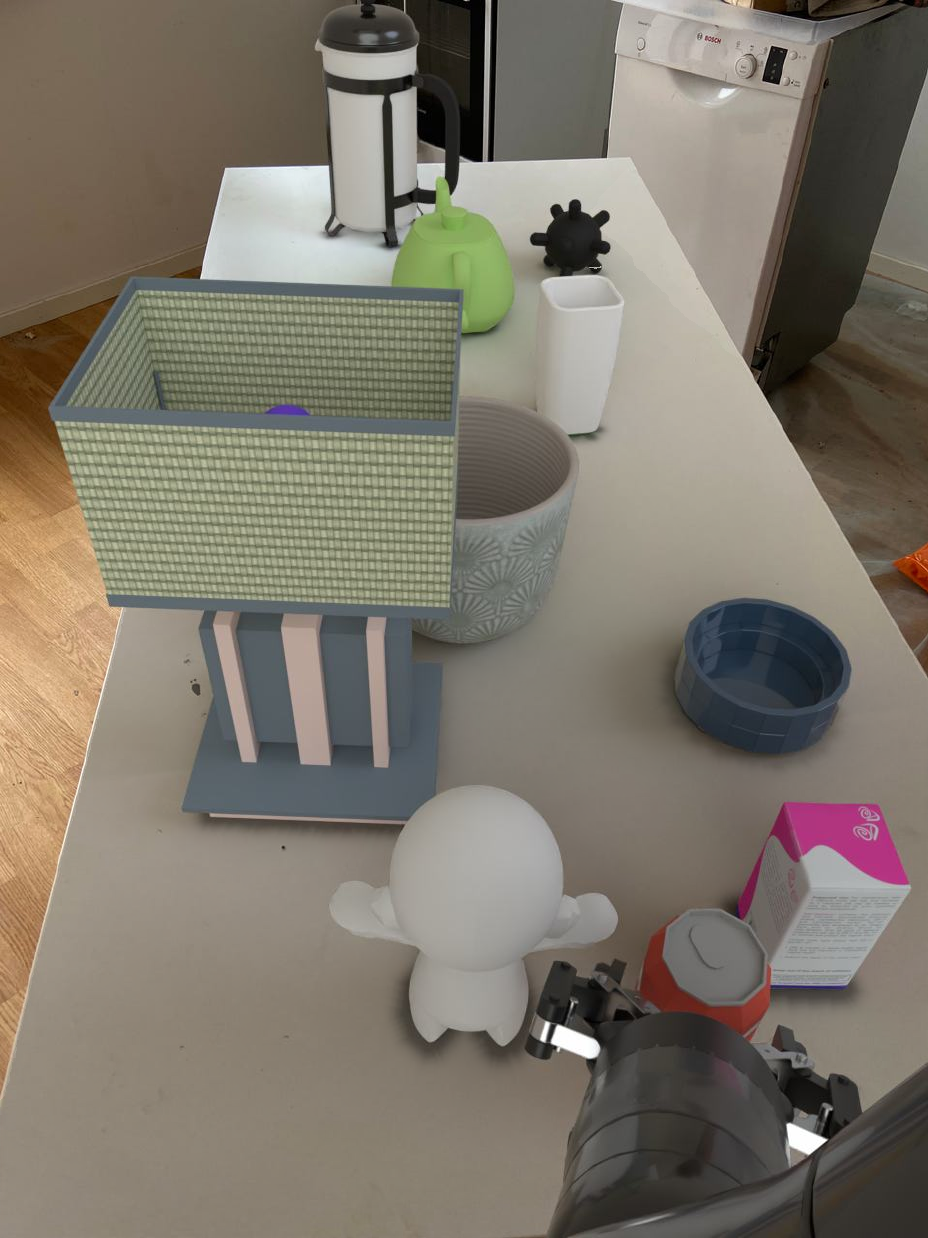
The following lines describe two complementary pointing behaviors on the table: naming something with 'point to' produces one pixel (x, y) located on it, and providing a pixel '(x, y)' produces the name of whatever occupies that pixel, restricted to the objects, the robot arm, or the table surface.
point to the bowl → (761, 675)
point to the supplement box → (823, 892)
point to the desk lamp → (282, 522)
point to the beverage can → (708, 969)
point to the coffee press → (378, 119)
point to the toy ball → (573, 239)
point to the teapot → (458, 261)
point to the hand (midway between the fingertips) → (694, 1011)
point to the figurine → (473, 909)
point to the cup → (576, 349)
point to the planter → (505, 518)
